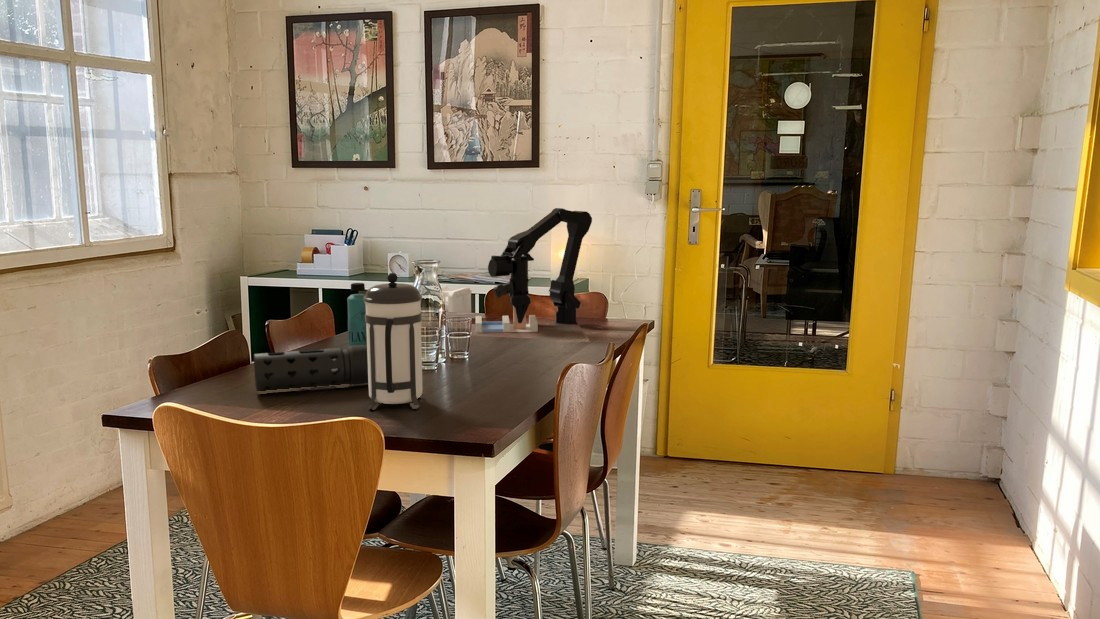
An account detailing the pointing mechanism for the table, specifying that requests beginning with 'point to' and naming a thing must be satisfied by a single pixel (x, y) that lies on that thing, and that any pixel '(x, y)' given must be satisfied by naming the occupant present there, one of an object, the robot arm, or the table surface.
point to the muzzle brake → (311, 368)
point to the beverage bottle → (357, 316)
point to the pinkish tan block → (515, 321)
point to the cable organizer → (457, 300)
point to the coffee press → (394, 342)
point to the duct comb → (504, 325)
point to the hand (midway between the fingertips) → (519, 321)
